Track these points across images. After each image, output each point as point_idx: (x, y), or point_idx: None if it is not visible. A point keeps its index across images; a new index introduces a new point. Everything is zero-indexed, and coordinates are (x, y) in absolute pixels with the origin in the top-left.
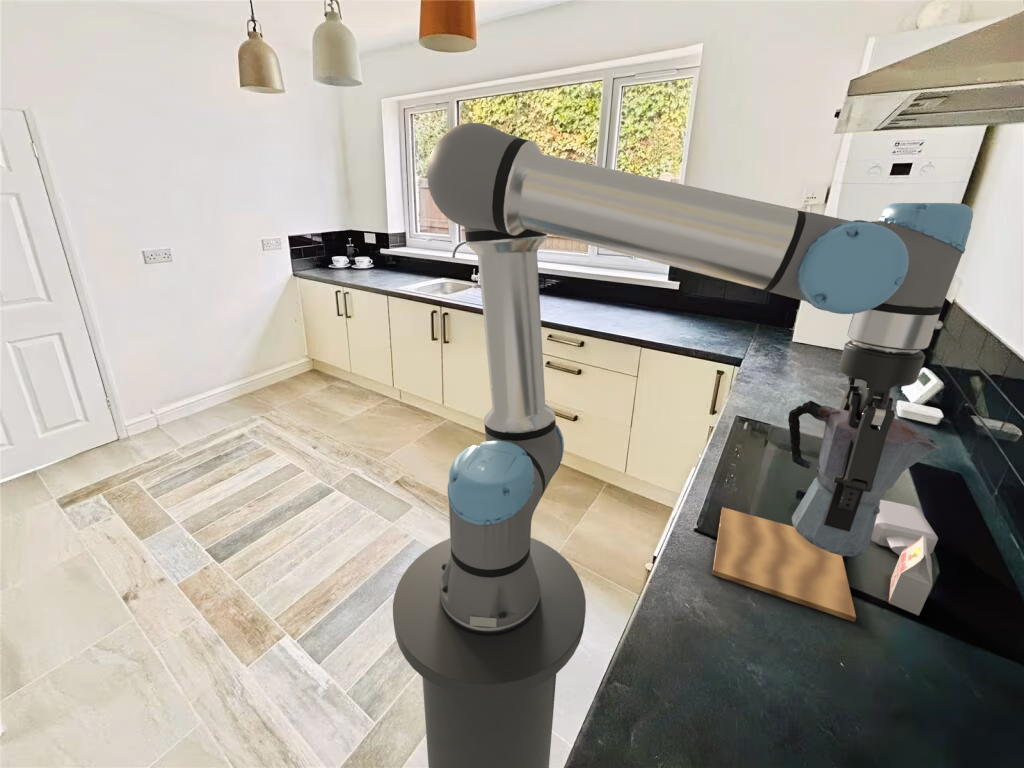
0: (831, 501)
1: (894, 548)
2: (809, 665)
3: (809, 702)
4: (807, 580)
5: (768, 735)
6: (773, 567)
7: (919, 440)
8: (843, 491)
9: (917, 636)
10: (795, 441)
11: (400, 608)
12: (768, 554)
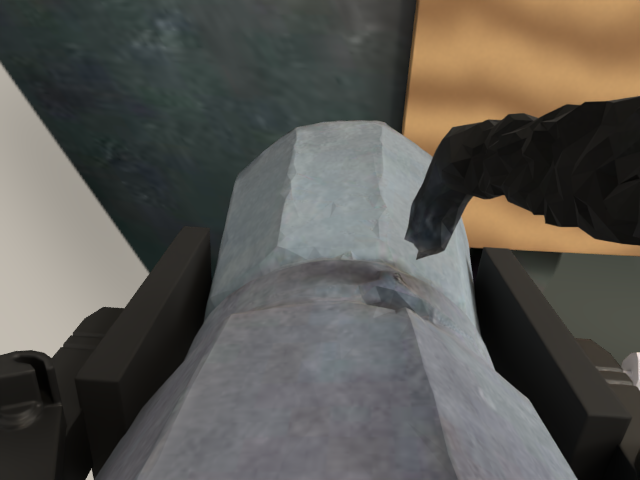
0: (142, 288)
1: (635, 358)
2: (233, 142)
3: (148, 132)
4: None
5: (36, 56)
6: (498, 93)
7: None
8: (63, 372)
9: None
10: (540, 162)
11: None
12: (550, 83)
